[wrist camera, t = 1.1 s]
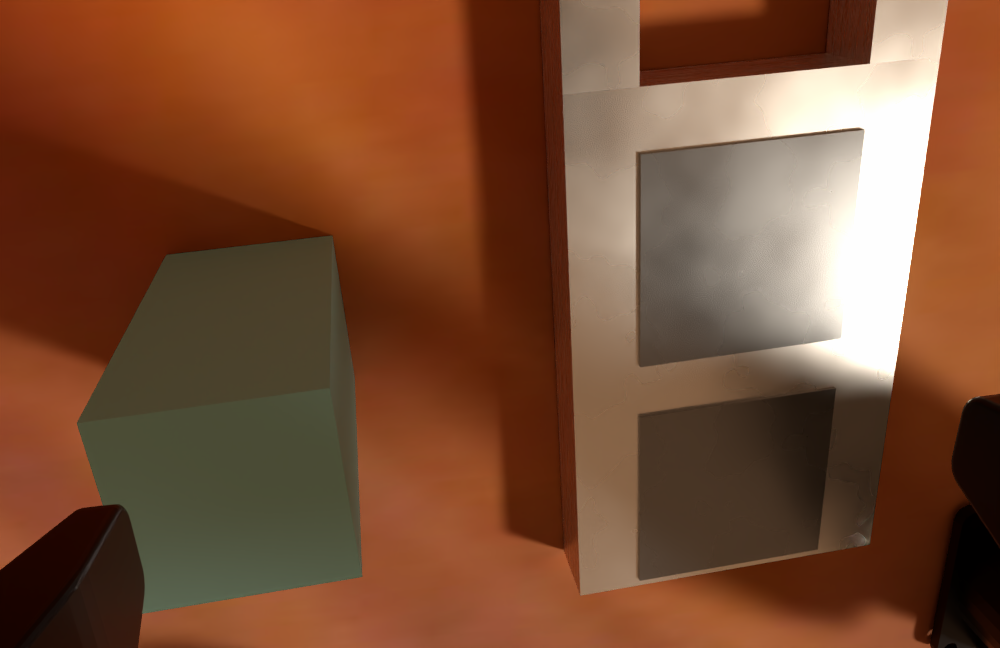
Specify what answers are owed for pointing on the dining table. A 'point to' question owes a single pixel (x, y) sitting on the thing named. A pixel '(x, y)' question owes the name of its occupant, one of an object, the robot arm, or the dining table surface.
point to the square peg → (233, 425)
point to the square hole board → (728, 285)
